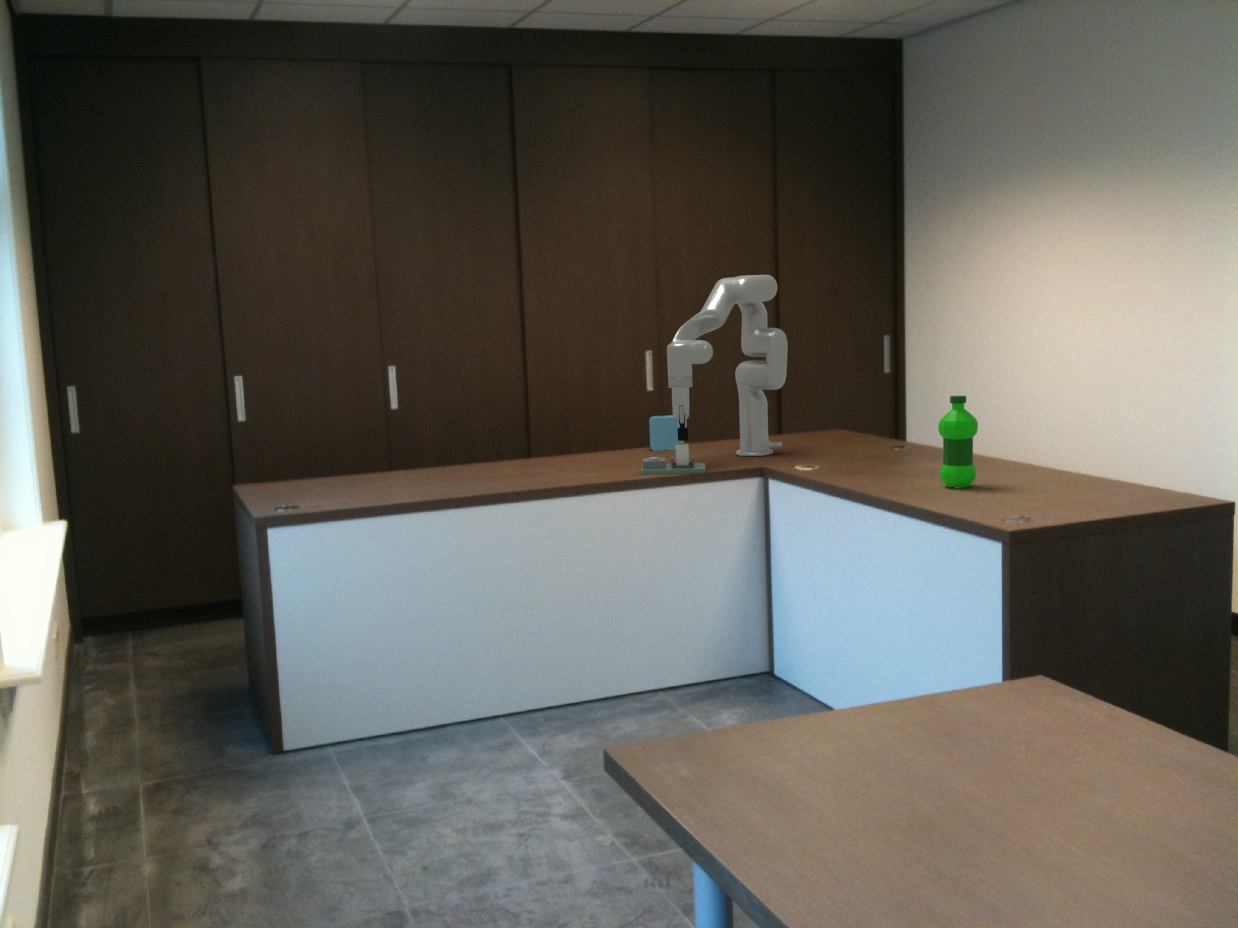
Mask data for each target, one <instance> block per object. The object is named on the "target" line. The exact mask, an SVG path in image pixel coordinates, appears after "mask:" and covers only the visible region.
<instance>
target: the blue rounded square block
mask: <svg viewBox="0 0 1238 928" xmlns="http://www.w3.org/2000/svg"><path fill="white" fill-rule="evenodd" d="M648 424H649V427H648V428H649V446H650V450H652V451H653V452H665V451H664V450H669V451H676V444H680V443H685V441H678V430H677V428H678V416H677V418H675V420H674V419H673V414H672V415H654V416H650V417H649V420H648Z"/></svg>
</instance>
